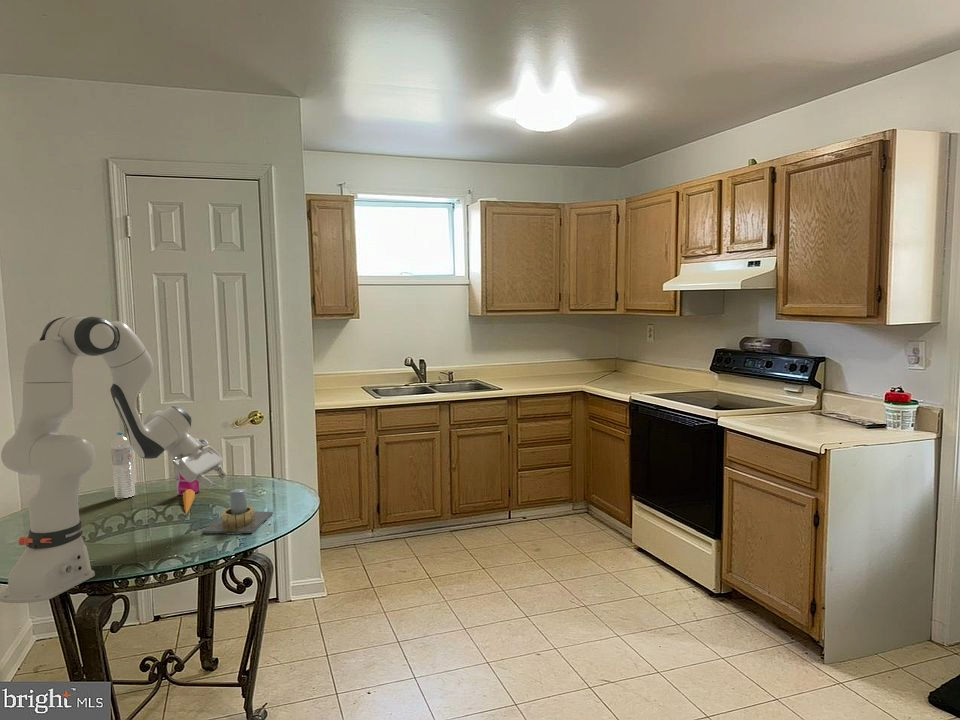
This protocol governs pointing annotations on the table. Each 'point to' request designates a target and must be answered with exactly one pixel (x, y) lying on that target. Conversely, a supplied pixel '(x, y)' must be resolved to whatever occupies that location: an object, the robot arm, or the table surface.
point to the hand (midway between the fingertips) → (218, 481)
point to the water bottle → (122, 467)
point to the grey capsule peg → (238, 501)
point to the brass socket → (238, 517)
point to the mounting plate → (248, 528)
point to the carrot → (188, 499)
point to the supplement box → (185, 484)
